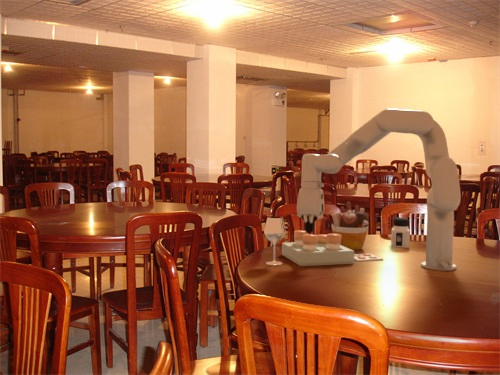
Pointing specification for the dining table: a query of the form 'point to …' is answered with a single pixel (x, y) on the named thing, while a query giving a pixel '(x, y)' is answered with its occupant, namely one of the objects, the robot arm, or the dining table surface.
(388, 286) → the dining table surface
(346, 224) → the bucket of meat
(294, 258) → the board
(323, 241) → the button
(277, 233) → the wineglass
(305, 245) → the button
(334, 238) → the button
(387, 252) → the dining table surface
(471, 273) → the dining table surface
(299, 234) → the button
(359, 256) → the pattern tile
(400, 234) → the container
